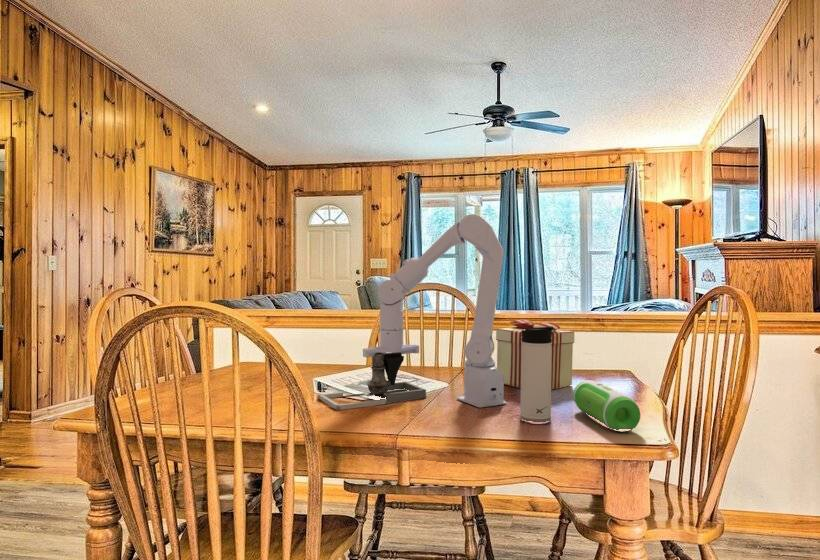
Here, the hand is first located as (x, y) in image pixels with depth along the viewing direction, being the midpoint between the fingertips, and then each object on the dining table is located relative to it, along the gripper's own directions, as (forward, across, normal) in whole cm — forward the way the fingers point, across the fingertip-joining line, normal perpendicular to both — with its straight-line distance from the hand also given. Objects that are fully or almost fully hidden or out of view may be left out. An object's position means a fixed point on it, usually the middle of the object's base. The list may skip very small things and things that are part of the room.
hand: (391, 384), depth 141 cm
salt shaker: (+3, +3, 0) cm, 5 cm away
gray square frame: (+3, +11, 0) cm, 11 cm away
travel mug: (+3, -18, +33) cm, 37 cm away
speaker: (+3, -30, +40) cm, 50 cm away
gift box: (+3, -41, +5) cm, 42 cm away
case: (+3, -1, 0) cm, 3 cm away
